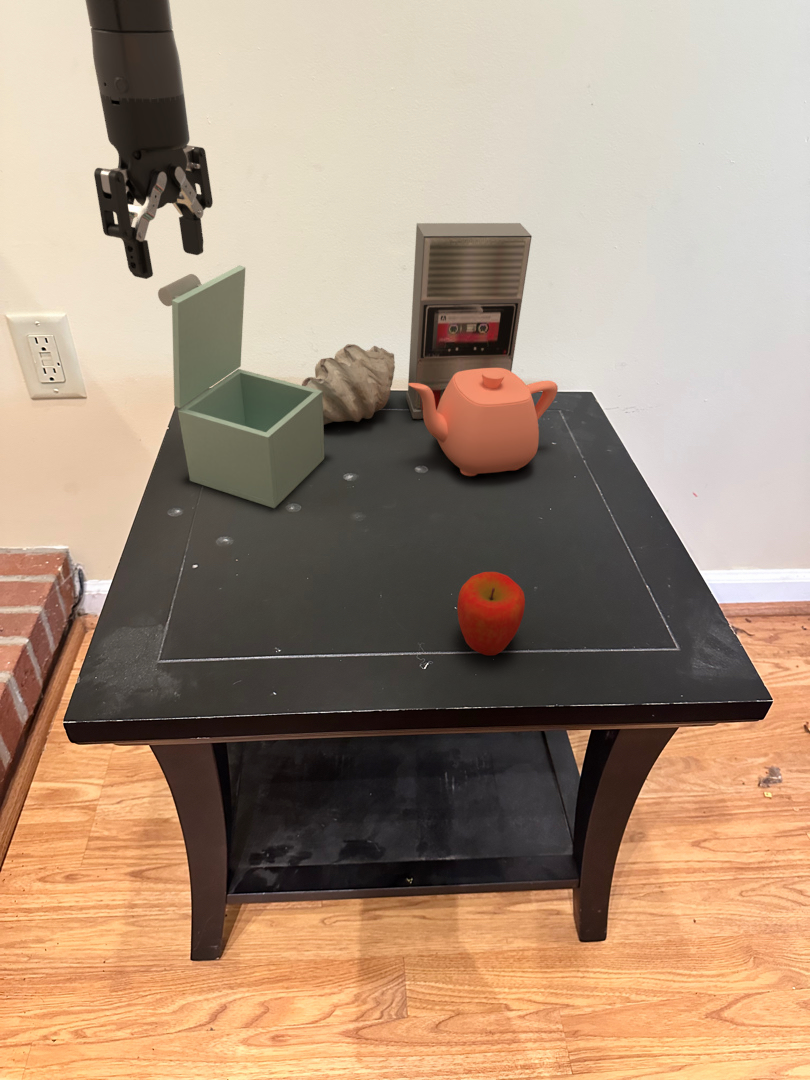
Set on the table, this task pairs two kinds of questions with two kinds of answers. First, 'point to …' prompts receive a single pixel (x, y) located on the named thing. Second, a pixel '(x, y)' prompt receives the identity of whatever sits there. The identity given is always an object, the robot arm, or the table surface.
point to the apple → (490, 611)
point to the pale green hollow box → (253, 436)
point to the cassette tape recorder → (464, 301)
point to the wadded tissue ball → (353, 383)
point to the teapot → (486, 419)
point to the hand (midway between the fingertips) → (169, 264)
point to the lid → (205, 330)
